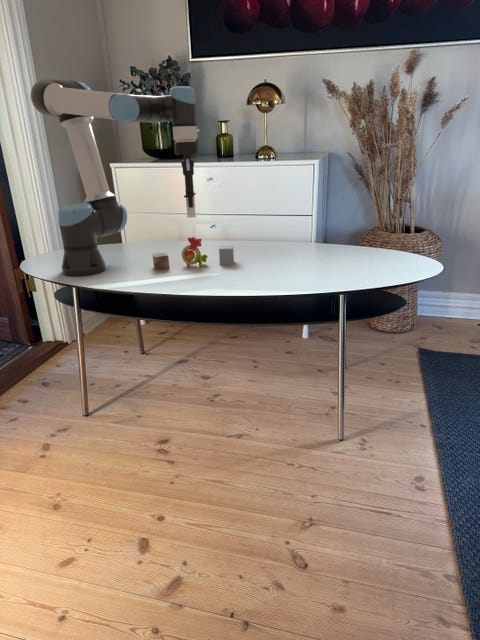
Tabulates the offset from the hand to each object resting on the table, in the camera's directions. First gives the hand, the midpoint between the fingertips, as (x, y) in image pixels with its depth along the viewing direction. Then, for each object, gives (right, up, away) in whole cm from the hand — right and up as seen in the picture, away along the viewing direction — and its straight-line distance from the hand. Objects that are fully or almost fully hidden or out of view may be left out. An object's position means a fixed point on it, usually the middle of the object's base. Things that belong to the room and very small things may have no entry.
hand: (191, 216), depth 159 cm
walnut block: (-12, -16, +15) cm, 25 cm away
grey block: (+11, -13, +19) cm, 26 cm away
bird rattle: (0, -15, +17) cm, 22 cm away
